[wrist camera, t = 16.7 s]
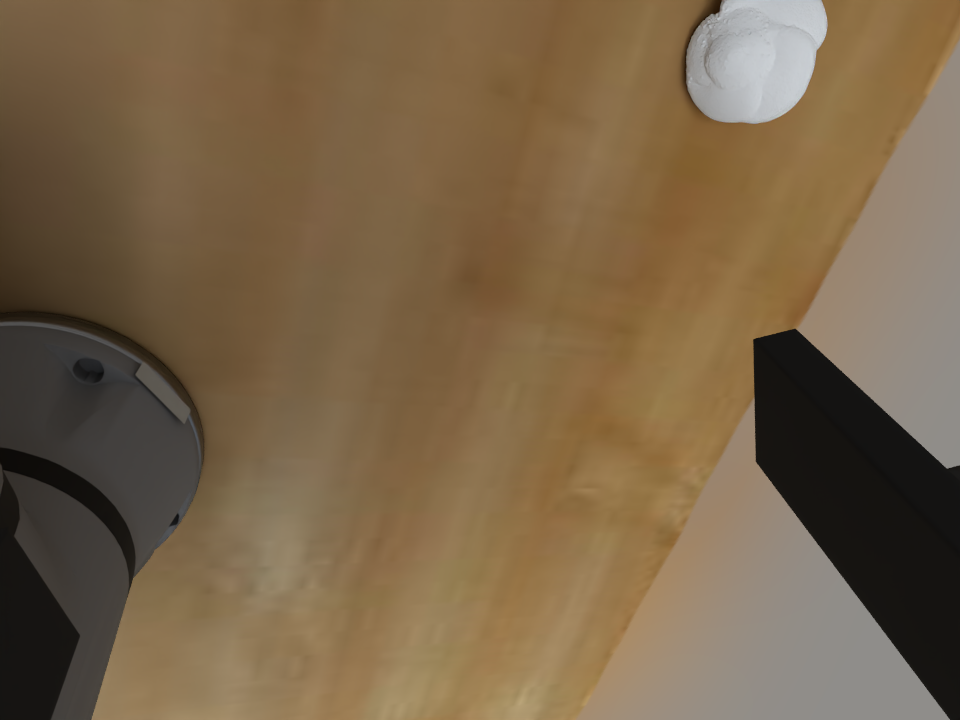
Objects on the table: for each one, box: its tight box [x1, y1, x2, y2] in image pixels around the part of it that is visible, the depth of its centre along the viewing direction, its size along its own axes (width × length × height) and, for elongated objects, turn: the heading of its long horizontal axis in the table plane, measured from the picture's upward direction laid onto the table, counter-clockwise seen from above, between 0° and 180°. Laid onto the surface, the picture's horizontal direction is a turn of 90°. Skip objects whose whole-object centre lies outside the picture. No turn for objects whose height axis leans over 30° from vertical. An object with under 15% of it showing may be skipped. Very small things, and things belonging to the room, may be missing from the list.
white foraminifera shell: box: [686, 0, 827, 124], centre depth 36 cm, size 7×5×4 cm
